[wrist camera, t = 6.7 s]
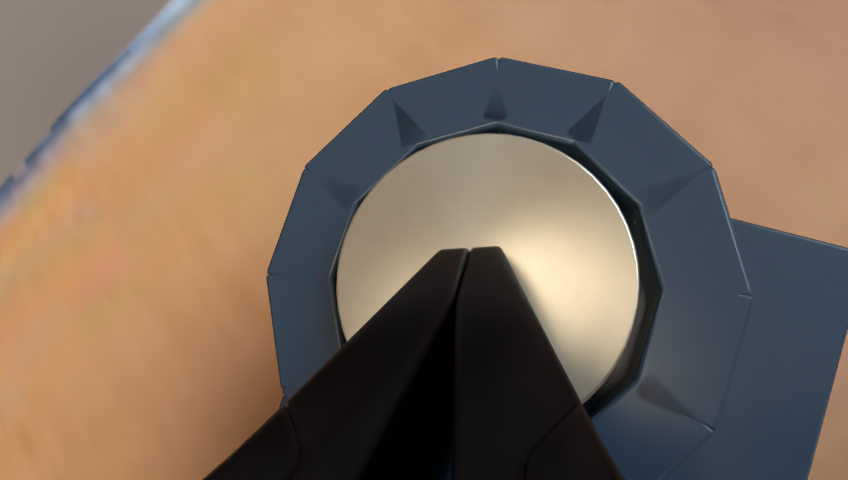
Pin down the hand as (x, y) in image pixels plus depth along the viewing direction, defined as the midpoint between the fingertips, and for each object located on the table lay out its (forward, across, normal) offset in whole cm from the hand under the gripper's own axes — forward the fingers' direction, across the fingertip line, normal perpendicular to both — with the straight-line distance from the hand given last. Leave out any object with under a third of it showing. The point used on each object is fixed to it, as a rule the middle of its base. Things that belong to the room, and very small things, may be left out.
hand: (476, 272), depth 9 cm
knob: (+2, 0, +2) cm, 3 cm away
